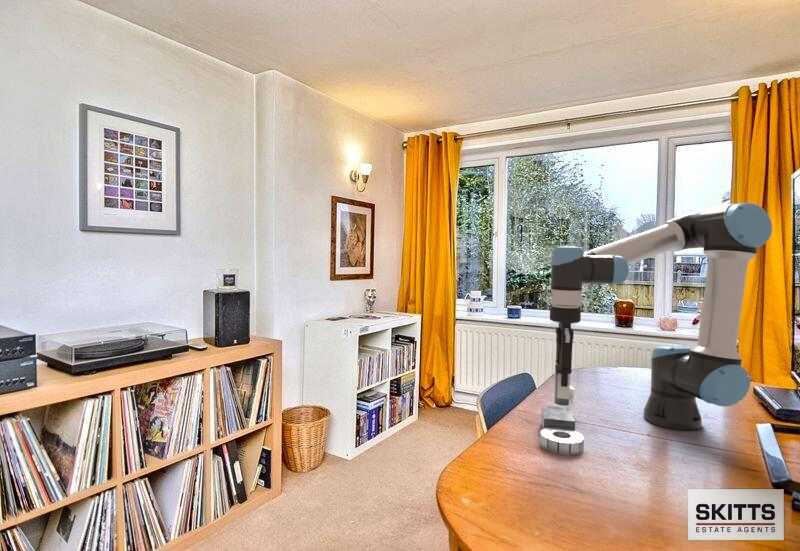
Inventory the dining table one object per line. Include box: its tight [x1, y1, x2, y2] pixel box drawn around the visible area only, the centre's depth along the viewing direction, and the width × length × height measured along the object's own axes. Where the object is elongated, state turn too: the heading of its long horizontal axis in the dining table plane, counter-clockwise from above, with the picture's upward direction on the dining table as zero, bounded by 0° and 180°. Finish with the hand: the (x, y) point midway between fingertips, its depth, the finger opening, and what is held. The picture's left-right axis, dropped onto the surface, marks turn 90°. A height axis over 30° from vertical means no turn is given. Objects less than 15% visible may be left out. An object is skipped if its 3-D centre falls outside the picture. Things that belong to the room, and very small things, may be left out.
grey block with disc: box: [539, 406, 585, 456], centre depth 121 cm, size 10×22×5 cm, turn 166°
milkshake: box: [560, 383, 578, 415], centre depth 140 cm, size 4×5×10 cm
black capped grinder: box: [553, 363, 572, 406], centre depth 115 cm, size 4×4×10 cm
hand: (562, 395), depth 115 cm, fingers closed on black capped grinder, 4 cm apart
